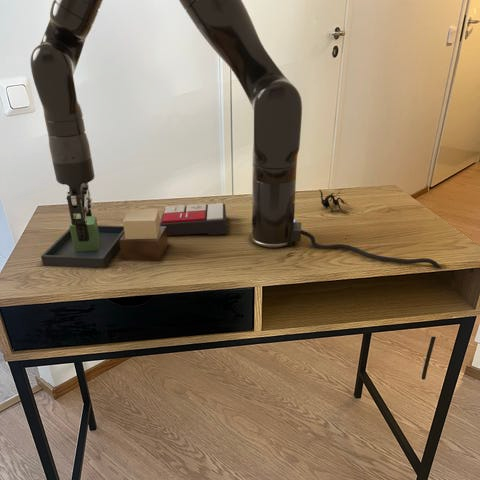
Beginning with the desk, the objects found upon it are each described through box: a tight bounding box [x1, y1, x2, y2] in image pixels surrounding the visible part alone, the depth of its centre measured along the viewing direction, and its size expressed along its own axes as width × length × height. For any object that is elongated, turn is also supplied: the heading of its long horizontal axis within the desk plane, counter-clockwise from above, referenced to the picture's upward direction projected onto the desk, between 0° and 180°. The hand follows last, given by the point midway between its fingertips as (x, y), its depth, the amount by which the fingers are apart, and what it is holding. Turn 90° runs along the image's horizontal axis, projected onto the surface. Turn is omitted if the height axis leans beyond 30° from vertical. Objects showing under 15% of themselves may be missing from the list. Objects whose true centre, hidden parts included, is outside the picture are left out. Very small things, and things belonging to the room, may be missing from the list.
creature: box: [318, 189, 349, 213], centre depth 128 cm, size 8×5×8 cm
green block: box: [69, 215, 100, 252], centre depth 108 cm, size 5×5×6 cm
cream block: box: [122, 208, 161, 239], centre depth 105 cm, size 6×6×4 cm
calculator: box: [160, 202, 227, 237], centre depth 119 cm, size 11×4×15 cm
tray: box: [40, 224, 125, 269], centre depth 109 cm, size 13×17×2 cm
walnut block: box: [119, 226, 169, 262], centre depth 107 cm, size 8×8×4 cm
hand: (86, 232), depth 108 cm, fingers open, 8 cm apart
